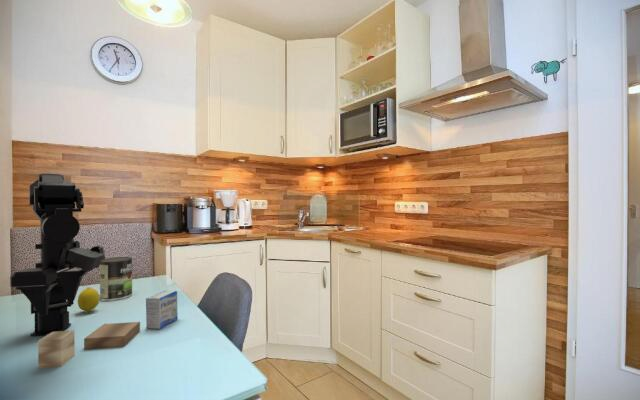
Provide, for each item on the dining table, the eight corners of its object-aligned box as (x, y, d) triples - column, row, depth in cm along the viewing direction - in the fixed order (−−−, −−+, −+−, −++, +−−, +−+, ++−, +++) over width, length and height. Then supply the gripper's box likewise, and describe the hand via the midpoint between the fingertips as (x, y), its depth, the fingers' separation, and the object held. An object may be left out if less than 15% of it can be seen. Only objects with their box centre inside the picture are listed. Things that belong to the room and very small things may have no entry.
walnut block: (84, 350, 75) (84, 338, 75) (104, 335, 84) (104, 323, 84) (124, 348, 77) (124, 335, 77) (139, 332, 86) (139, 321, 86)
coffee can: (138, 292, 121) (138, 256, 121) (121, 301, 111) (120, 261, 111) (112, 292, 122) (111, 256, 122) (92, 301, 111) (92, 261, 111)
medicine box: (159, 329, 86) (159, 298, 86) (145, 328, 87) (145, 297, 87) (178, 319, 94) (177, 290, 94) (165, 318, 95) (164, 289, 95)
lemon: (78, 316, 96) (78, 291, 96) (77, 312, 101) (77, 287, 101) (100, 312, 100) (100, 287, 100) (98, 308, 104) (97, 284, 104)
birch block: (38, 368, 67) (38, 340, 67) (52, 357, 71) (52, 331, 71) (61, 366, 68) (61, 339, 68) (74, 356, 72) (74, 330, 72)
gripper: (71, 242, 62) (72, 321, 62) (117, 232, 80) (117, 293, 80) (7, 244, 60) (8, 325, 60) (68, 233, 78) (69, 295, 78)
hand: (58, 307), depth 70 cm, fingers open, 9 cm apart
